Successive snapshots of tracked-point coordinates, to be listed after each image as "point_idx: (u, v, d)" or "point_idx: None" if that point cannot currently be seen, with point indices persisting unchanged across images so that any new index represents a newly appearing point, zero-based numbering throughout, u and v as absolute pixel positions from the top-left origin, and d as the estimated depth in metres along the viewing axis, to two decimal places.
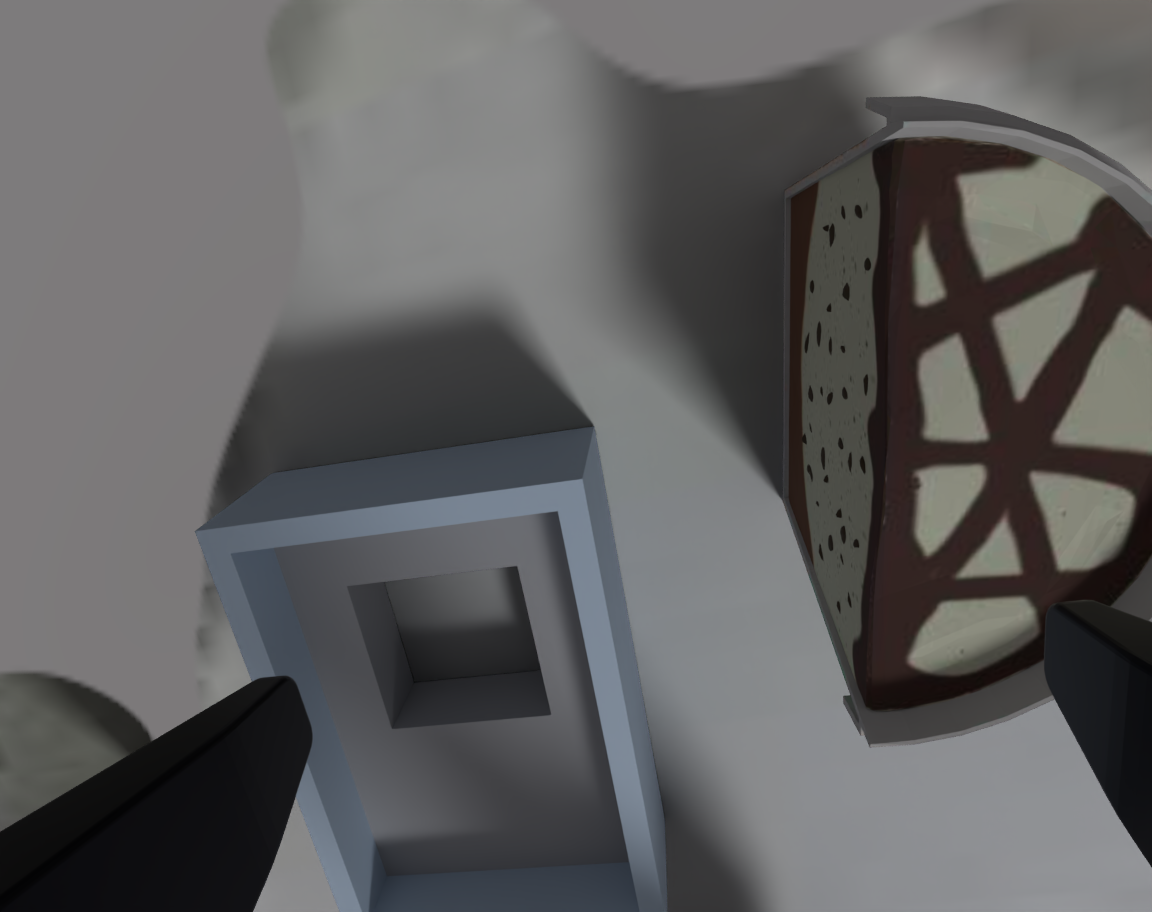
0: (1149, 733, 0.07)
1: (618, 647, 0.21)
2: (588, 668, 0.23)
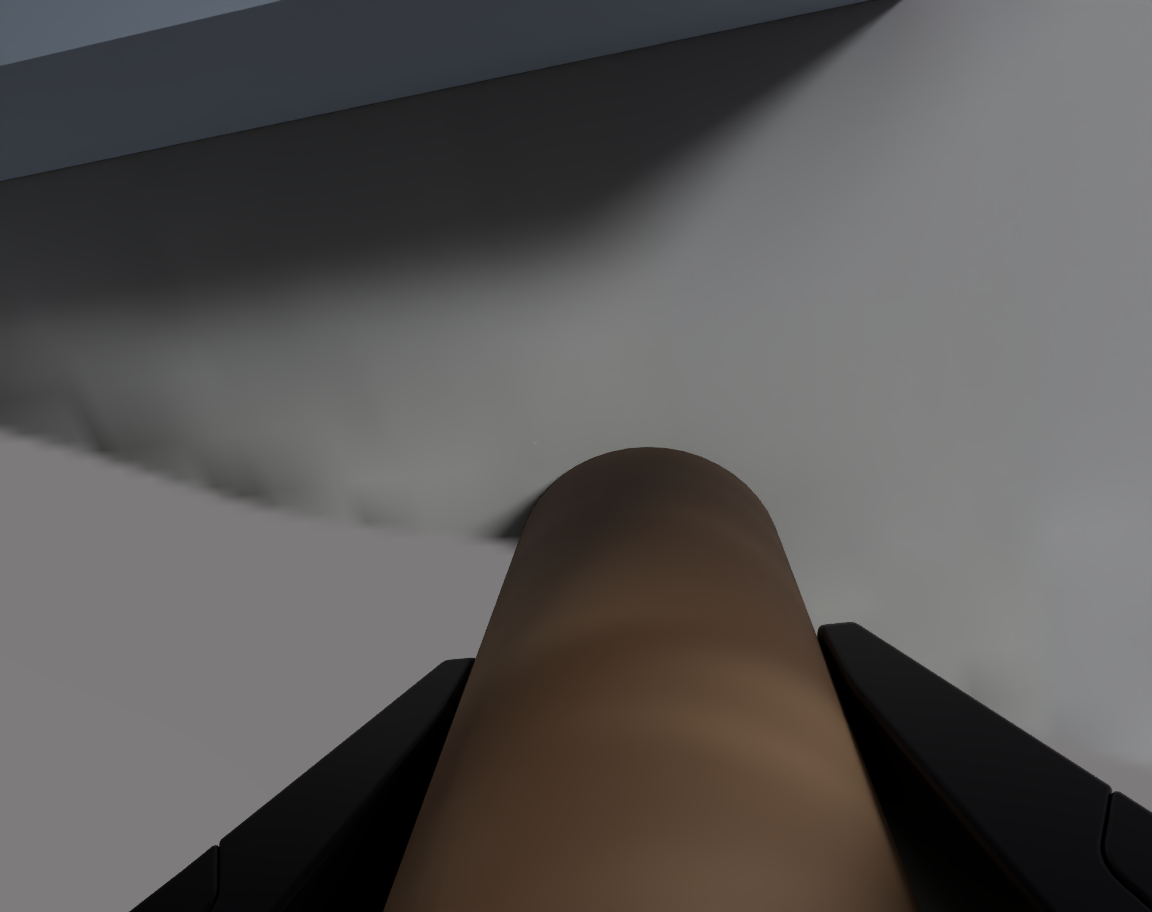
0: (863, 753, 0.07)
1: None
2: None
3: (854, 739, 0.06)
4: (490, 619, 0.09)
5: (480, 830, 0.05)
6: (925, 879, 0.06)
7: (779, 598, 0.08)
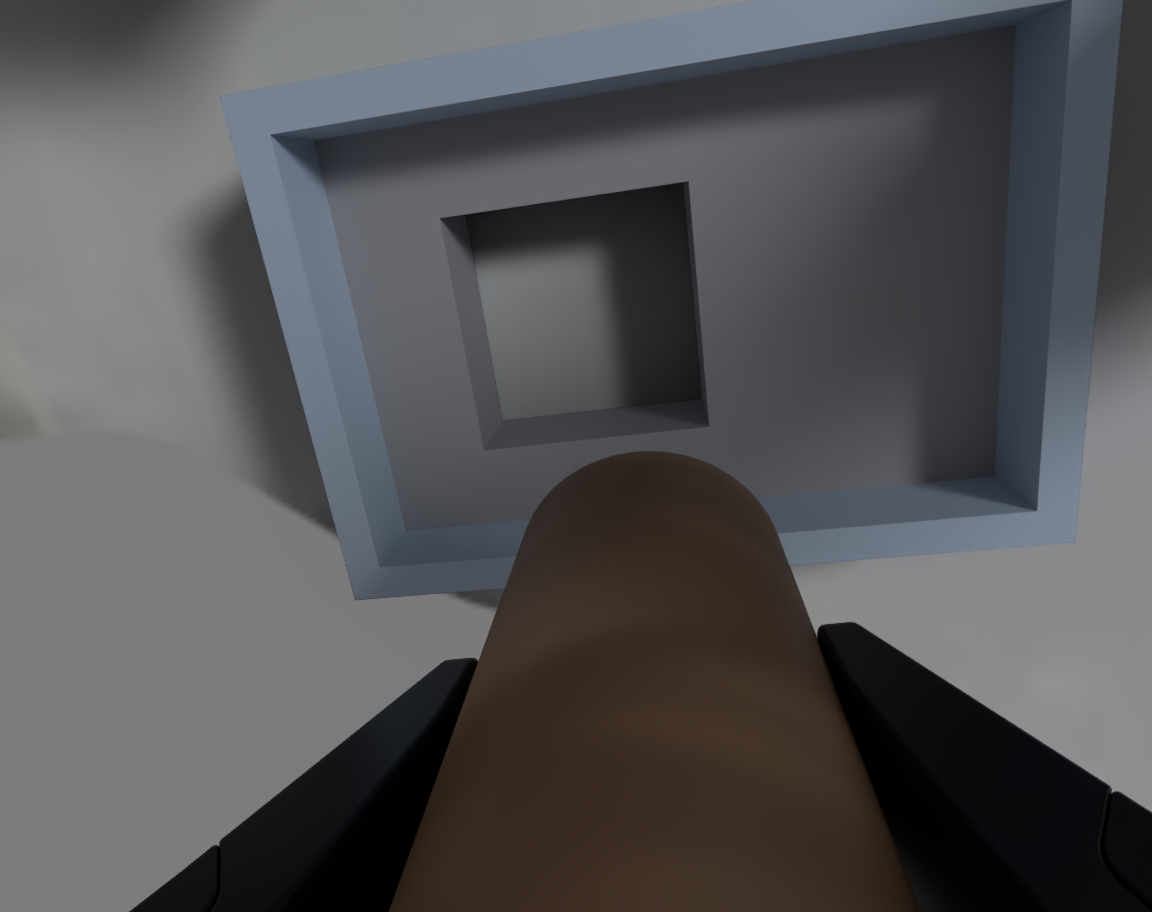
0: (863, 753, 0.07)
1: None
2: (604, 117, 0.15)
3: (855, 744, 0.06)
4: (492, 623, 0.09)
5: (485, 836, 0.05)
6: (925, 879, 0.06)
7: (780, 603, 0.08)
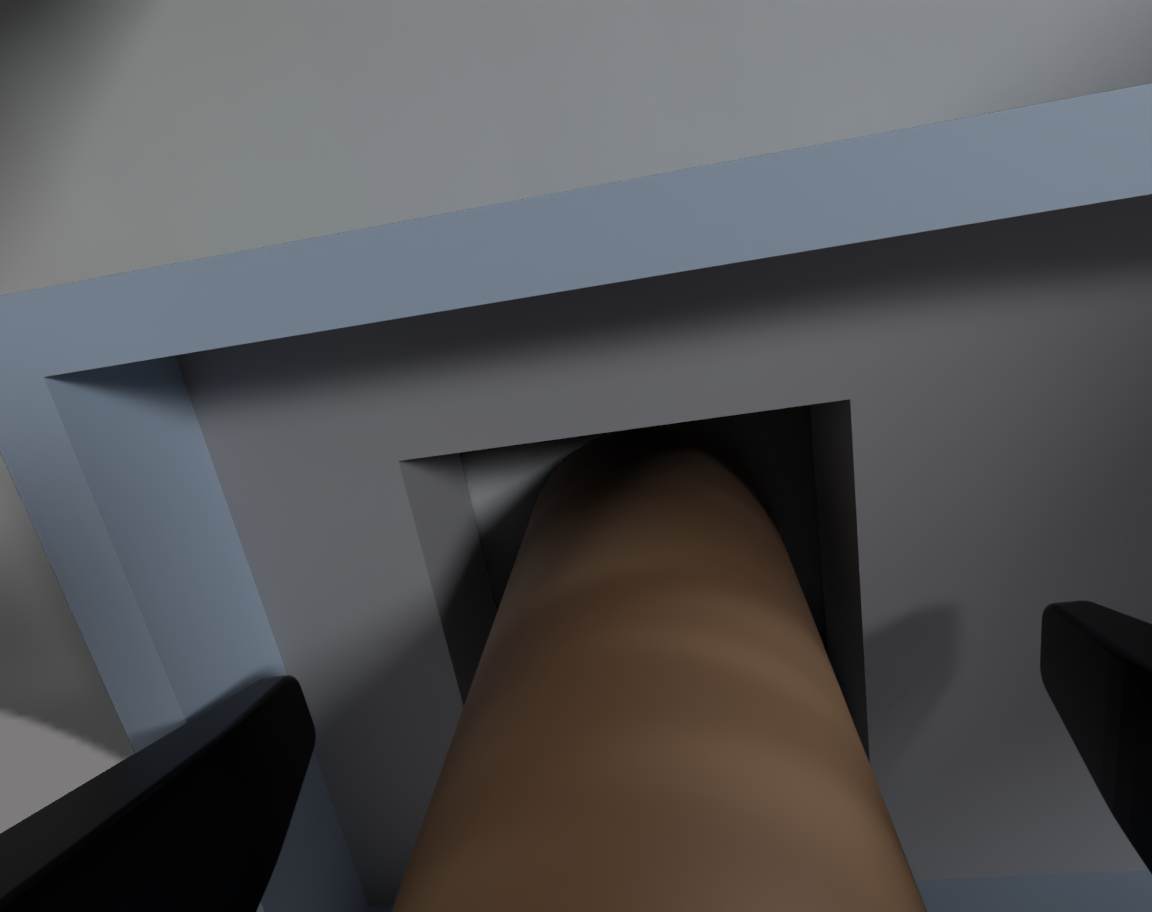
0: (1144, 733, 0.07)
1: None
2: (693, 291, 0.08)
3: (832, 671, 0.07)
4: (509, 579, 0.10)
5: (515, 725, 0.06)
6: None
7: (768, 555, 0.08)
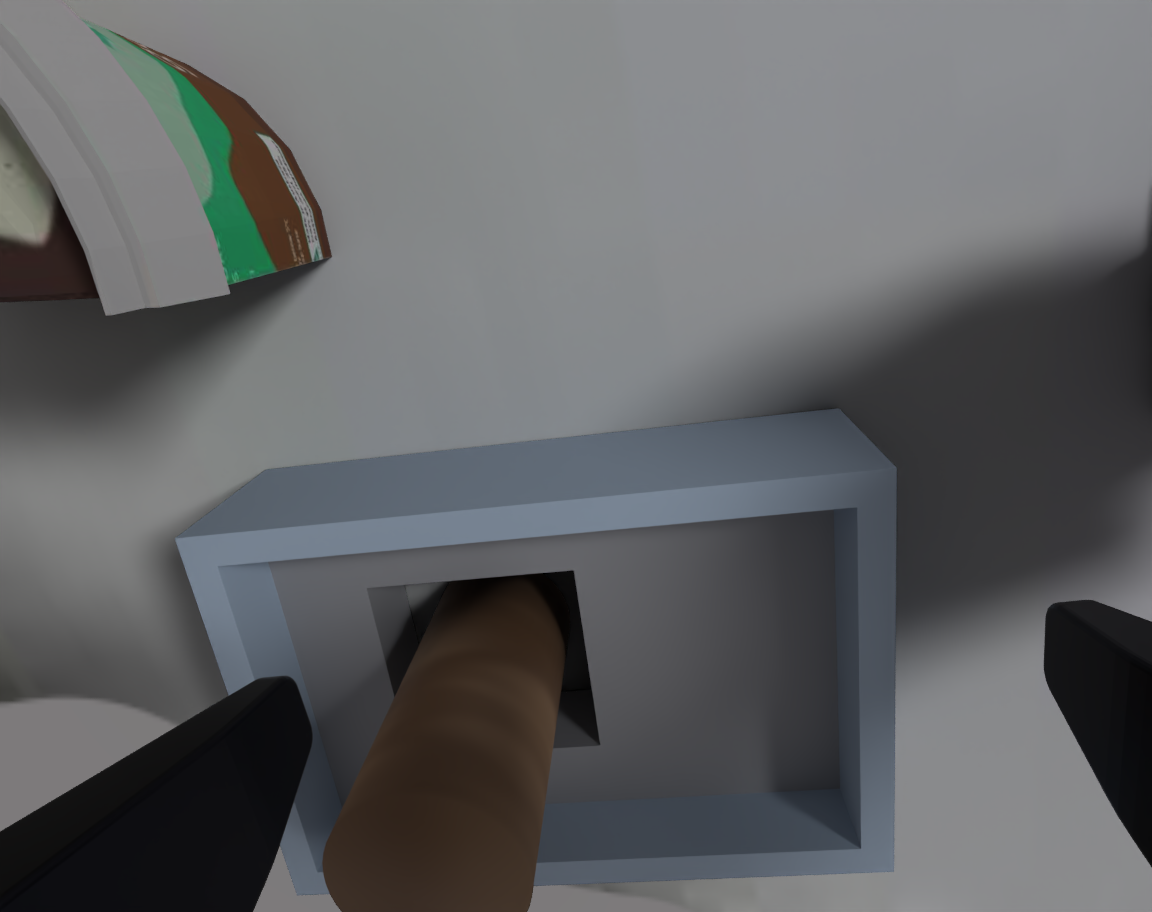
0: (1149, 733, 0.07)
1: (420, 501, 0.17)
2: None
3: (545, 694, 0.18)
4: (419, 645, 0.20)
5: (404, 713, 0.16)
6: None
7: (534, 640, 0.19)
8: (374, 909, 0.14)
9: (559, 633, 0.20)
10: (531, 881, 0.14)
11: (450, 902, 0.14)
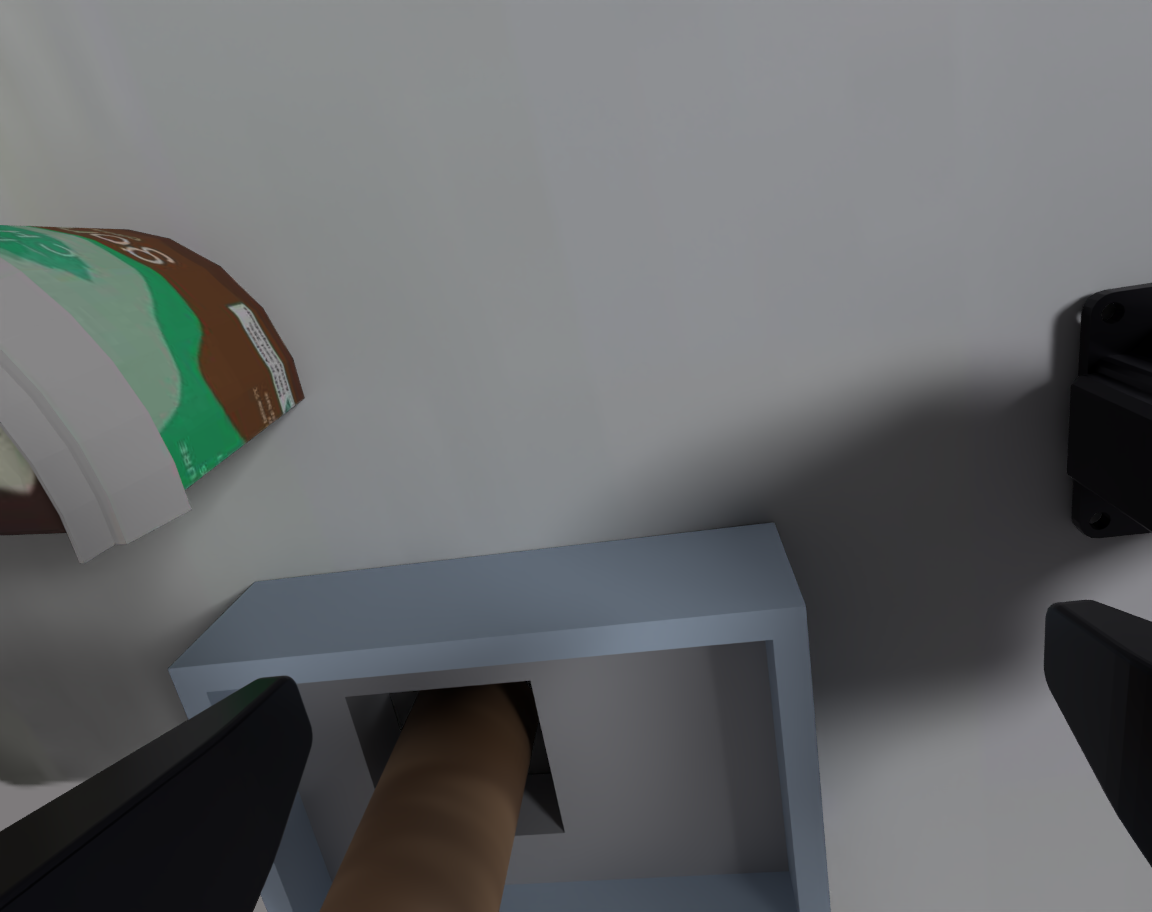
0: (1149, 733, 0.07)
1: (384, 630, 0.19)
2: None
3: (504, 801, 0.19)
4: None
5: (370, 831, 0.18)
6: None
7: (496, 745, 0.20)
8: None
9: (524, 731, 0.22)
10: None
11: None
